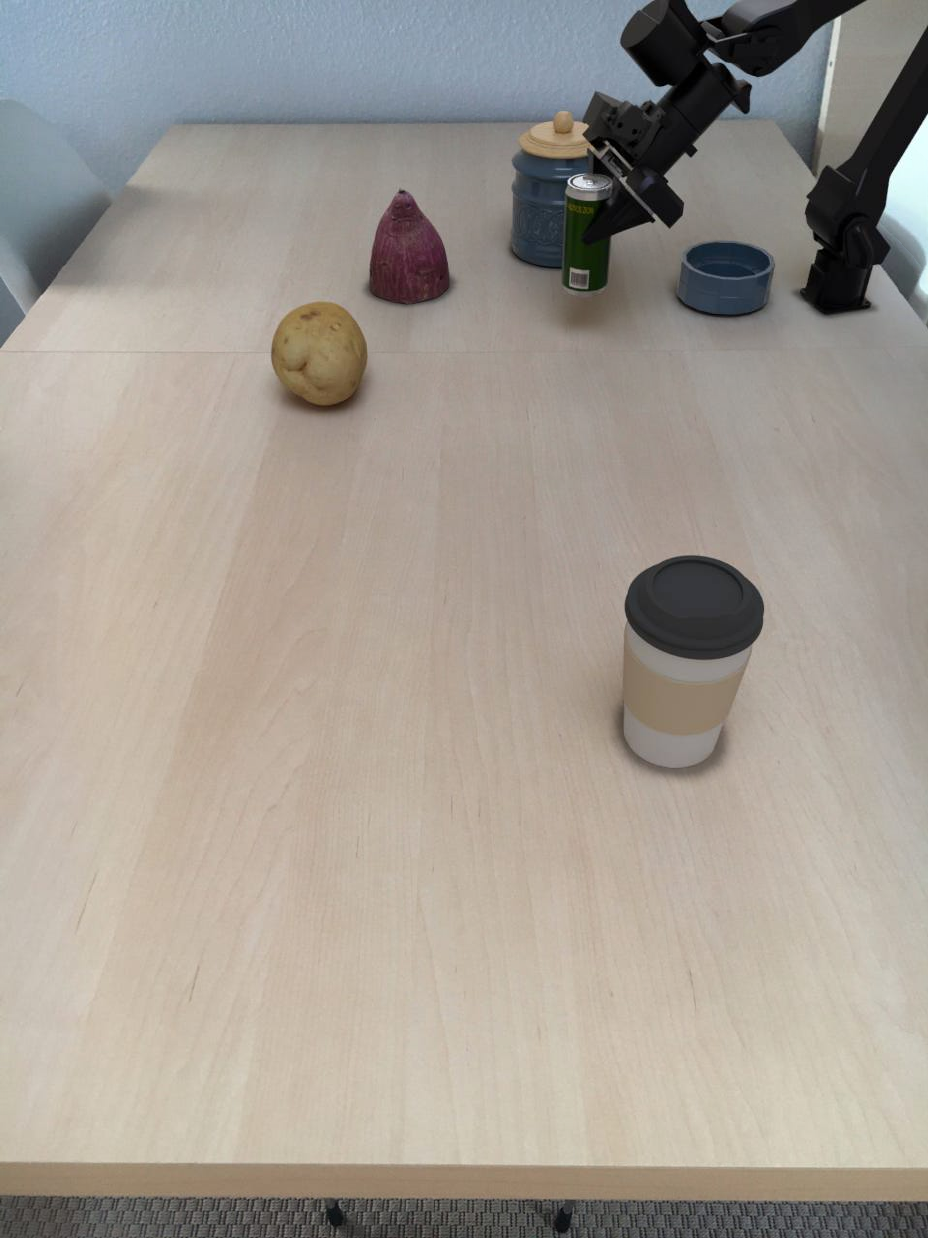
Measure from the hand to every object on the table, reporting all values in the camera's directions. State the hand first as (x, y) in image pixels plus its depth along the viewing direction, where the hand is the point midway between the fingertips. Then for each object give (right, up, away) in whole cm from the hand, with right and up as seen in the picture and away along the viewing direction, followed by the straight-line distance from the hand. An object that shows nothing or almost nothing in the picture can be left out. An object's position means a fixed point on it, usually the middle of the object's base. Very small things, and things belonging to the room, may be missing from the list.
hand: (575, 232), depth 111 cm
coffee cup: (+3, -52, -36) cm, 63 cm away
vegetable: (-20, 0, +19) cm, 27 cm away
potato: (-28, -18, 0) cm, 33 cm away
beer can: (+2, -5, +5) cm, 7 cm away
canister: (0, +8, +26) cm, 27 cm away
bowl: (+20, -3, +15) cm, 25 cm away
